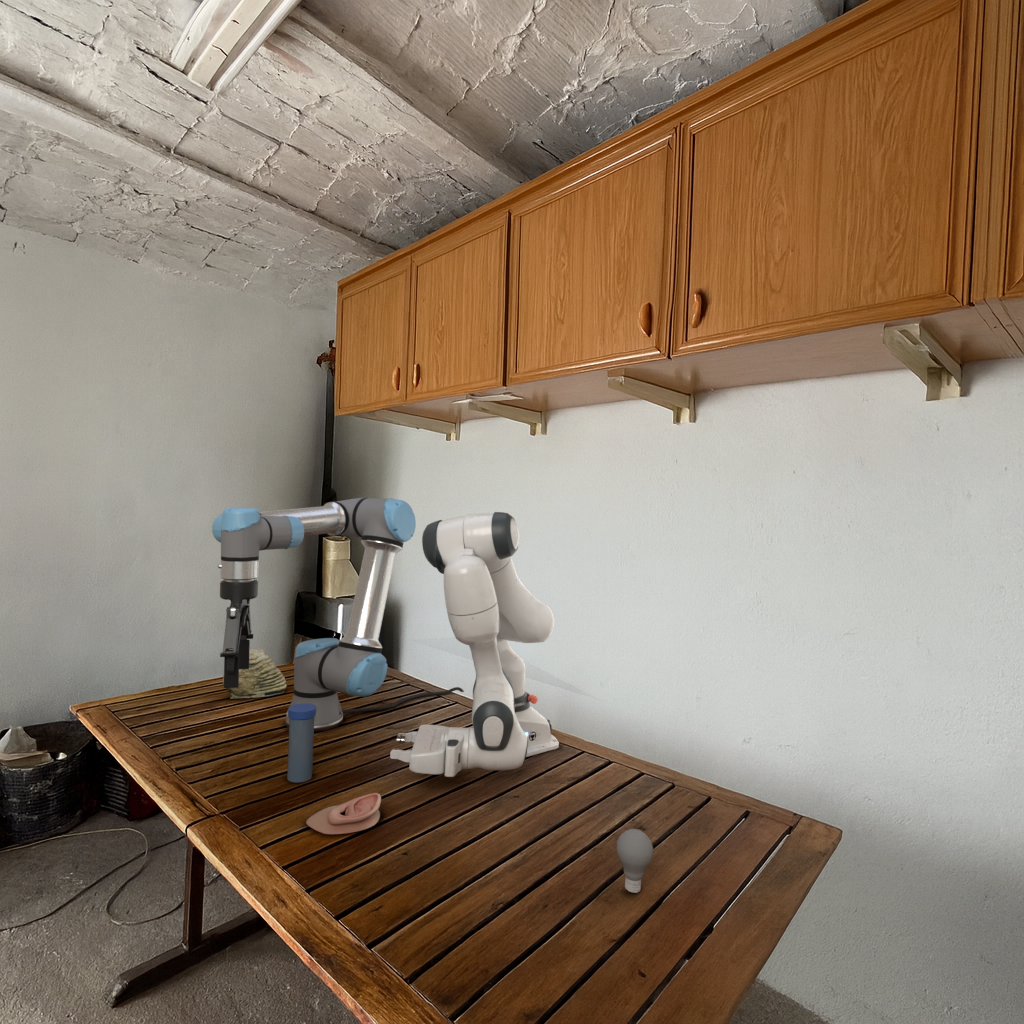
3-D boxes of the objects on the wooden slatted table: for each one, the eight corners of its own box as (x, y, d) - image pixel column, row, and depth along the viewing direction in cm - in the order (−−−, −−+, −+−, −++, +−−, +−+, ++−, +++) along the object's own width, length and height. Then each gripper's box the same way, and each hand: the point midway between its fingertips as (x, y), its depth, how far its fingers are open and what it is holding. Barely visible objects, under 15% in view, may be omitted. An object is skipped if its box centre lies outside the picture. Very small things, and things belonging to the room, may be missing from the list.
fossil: (218, 695, 195) (220, 647, 195) (278, 685, 208) (279, 640, 207) (228, 703, 189) (230, 653, 188) (289, 692, 201) (290, 645, 201)
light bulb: (610, 879, 108) (613, 822, 108) (644, 879, 109) (647, 822, 109) (619, 902, 102) (622, 840, 102) (655, 901, 103) (658, 840, 103)
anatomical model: (298, 809, 120) (327, 783, 131) (297, 830, 120) (327, 802, 131) (363, 819, 117) (388, 791, 128) (362, 840, 117) (387, 811, 128)
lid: (296, 721, 138) (296, 713, 138) (282, 714, 142) (283, 706, 142) (321, 715, 142) (321, 708, 142) (307, 708, 146) (307, 701, 146)
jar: (294, 784, 139) (297, 715, 138) (282, 776, 142) (285, 709, 142) (316, 777, 143) (319, 709, 142) (304, 770, 146) (307, 704, 146)
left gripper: (231, 571, 147) (229, 662, 148) (207, 588, 123) (204, 697, 124) (265, 572, 149) (263, 661, 150) (248, 588, 125) (246, 695, 125)
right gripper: (458, 719, 154) (401, 716, 153) (453, 750, 133) (387, 748, 133) (457, 745, 154) (399, 742, 153) (452, 780, 133) (385, 778, 133)
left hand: (237, 677), depth 137 cm, fingers open, 13 cm apart
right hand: (394, 745), depth 143 cm, fingers open, 8 cm apart
